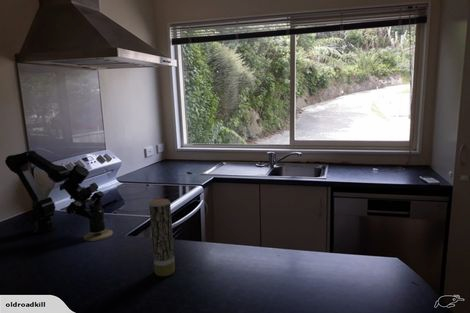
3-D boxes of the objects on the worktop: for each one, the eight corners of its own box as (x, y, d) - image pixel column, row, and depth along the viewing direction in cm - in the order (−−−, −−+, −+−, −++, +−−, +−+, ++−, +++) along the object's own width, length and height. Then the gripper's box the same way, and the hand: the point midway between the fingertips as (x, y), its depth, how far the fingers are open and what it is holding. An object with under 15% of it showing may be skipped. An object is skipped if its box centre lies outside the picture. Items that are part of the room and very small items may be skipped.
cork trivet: (77, 239, 147) (77, 237, 147) (96, 229, 158) (96, 227, 158) (100, 242, 143) (100, 240, 143) (118, 231, 154) (118, 230, 154)
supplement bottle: (107, 230, 149) (104, 204, 147) (90, 234, 146) (87, 207, 144) (103, 226, 155) (101, 200, 153) (87, 229, 151) (85, 203, 149)
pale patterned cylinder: (157, 279, 111) (151, 206, 107) (152, 270, 117) (146, 201, 113) (177, 274, 114) (172, 202, 110) (171, 265, 120) (166, 197, 116)
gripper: (68, 183, 139) (94, 211, 137) (98, 174, 156) (121, 198, 155) (55, 201, 142) (79, 228, 141) (86, 189, 160) (108, 213, 159)
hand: (98, 216), depth 149 cm, fingers closed on supplement bottle, 7 cm apart
